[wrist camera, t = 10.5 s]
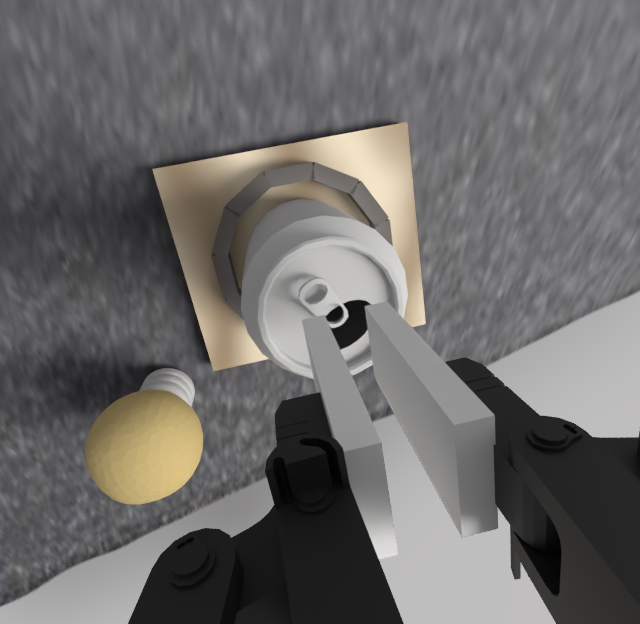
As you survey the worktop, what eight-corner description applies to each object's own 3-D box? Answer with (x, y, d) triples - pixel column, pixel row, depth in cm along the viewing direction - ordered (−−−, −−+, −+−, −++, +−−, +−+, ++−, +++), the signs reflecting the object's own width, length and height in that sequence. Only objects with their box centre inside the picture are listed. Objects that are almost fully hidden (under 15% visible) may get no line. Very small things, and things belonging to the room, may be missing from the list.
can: (295, 327, 30) (318, 426, 18) (222, 248, 27) (197, 306, 16) (378, 261, 29) (454, 322, 18) (311, 172, 26) (350, 177, 15)
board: (215, 363, 31) (211, 381, 28) (156, 169, 26) (145, 169, 23) (419, 318, 32) (433, 331, 29) (401, 123, 27) (415, 119, 25)
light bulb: (150, 434, 32) (106, 544, 23) (108, 366, 30) (40, 458, 20) (227, 405, 32) (214, 502, 23) (191, 335, 30) (161, 412, 21)
